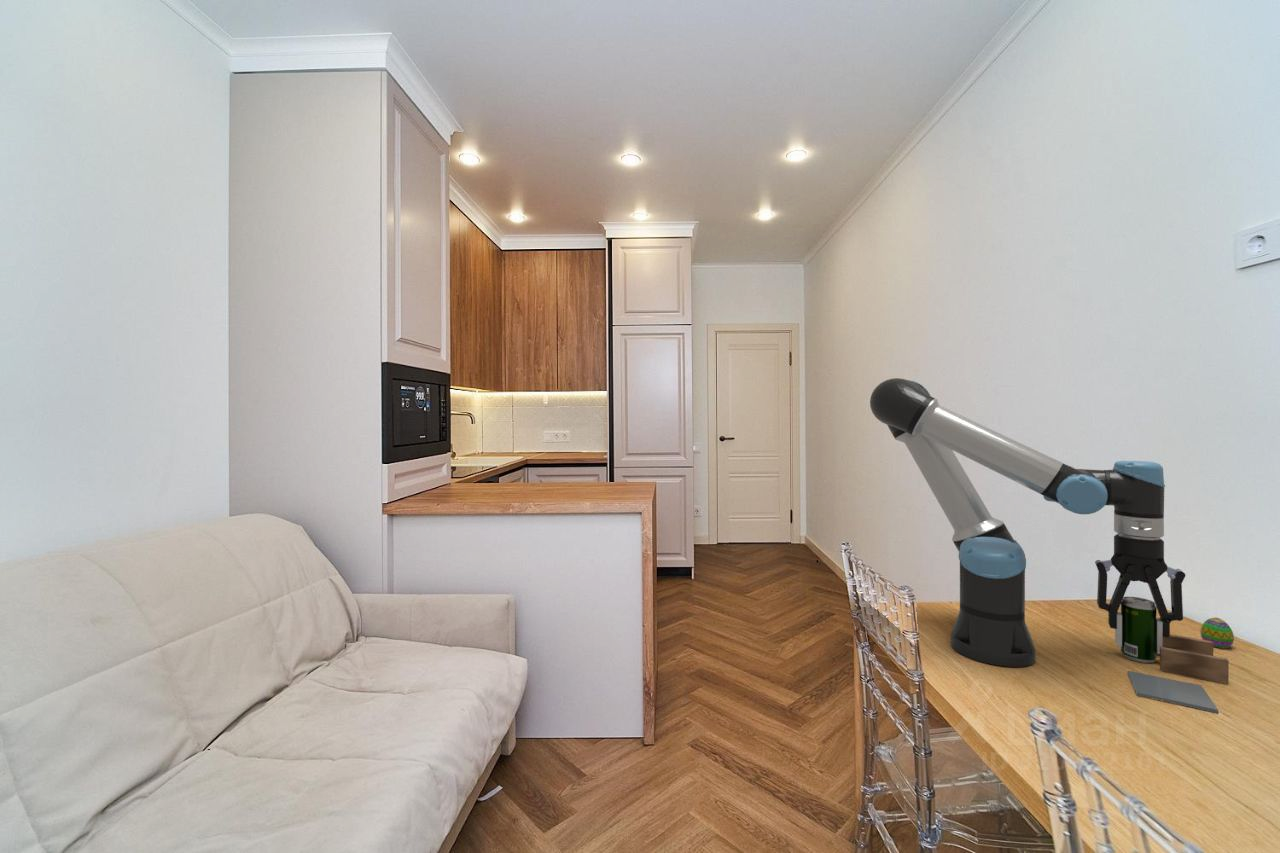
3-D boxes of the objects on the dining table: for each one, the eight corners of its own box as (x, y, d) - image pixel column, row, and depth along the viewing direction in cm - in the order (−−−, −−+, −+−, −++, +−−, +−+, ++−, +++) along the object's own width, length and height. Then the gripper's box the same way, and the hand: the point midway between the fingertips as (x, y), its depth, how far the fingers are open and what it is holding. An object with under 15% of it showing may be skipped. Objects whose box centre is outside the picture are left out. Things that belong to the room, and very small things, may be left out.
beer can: (1150, 666, 105) (1150, 606, 105) (1116, 656, 110) (1116, 599, 110) (1160, 660, 108) (1160, 601, 108) (1126, 650, 113) (1126, 594, 112)
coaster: (1137, 695, 94) (1137, 692, 94) (1127, 673, 102) (1127, 670, 102) (1218, 713, 88) (1218, 709, 88) (1201, 688, 97) (1201, 685, 97)
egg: (1210, 639, 118) (1210, 612, 118) (1240, 648, 113) (1240, 621, 113) (1194, 641, 117) (1194, 615, 116) (1223, 651, 112) (1223, 623, 112)
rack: (1161, 671, 103) (1161, 648, 103) (1150, 652, 112) (1150, 631, 111) (1228, 684, 98) (1228, 660, 98) (1211, 663, 106) (1211, 641, 106)
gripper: (1082, 534, 111) (1082, 643, 111) (1207, 545, 100) (1207, 666, 100) (1078, 527, 117) (1078, 631, 117) (1196, 538, 106) (1196, 652, 107)
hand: (1138, 647), depth 109 cm, fingers closed on beer can, 5 cm apart
